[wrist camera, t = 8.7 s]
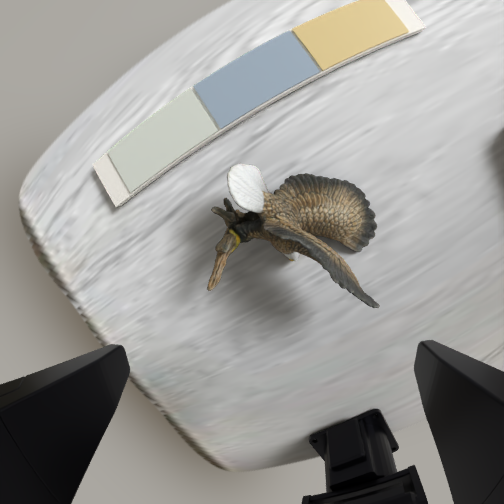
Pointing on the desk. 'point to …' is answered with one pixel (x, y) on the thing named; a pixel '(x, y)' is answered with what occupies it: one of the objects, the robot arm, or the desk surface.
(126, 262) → the desk surface
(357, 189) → the eagle figurine
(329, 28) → the track board
